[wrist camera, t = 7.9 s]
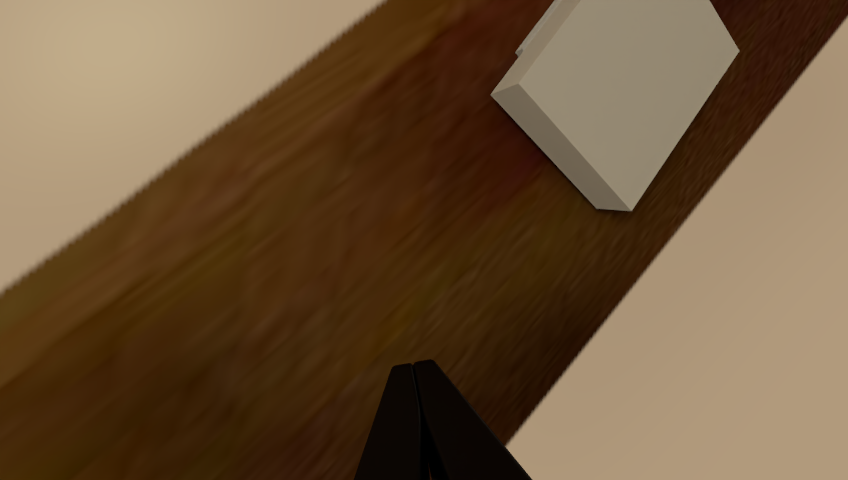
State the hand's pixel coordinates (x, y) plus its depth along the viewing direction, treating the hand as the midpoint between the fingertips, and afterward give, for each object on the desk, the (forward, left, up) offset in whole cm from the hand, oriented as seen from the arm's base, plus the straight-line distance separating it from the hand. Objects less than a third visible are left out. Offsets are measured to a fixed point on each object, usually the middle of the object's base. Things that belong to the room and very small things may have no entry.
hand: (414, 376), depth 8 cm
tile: (+10, -7, -9) cm, 16 cm away
